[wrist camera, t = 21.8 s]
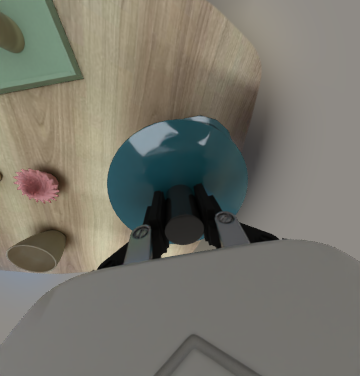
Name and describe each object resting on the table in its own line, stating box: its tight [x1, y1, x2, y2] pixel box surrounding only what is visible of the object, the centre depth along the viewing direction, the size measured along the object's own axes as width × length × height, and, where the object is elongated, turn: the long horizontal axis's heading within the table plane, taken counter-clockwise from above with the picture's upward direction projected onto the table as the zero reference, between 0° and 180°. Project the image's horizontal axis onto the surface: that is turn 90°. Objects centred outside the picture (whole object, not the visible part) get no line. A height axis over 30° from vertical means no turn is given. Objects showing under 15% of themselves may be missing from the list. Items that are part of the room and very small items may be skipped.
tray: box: [0, 0, 83, 94], centre depth 18 cm, size 15×12×2 cm
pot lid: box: [107, 119, 248, 245], centre depth 11 cm, size 14×14×6 cm
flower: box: [13, 168, 59, 204], centre depth 27 cm, size 8×8×6 cm
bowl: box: [6, 230, 66, 273], centre depth 33 cm, size 10×10×7 cm
